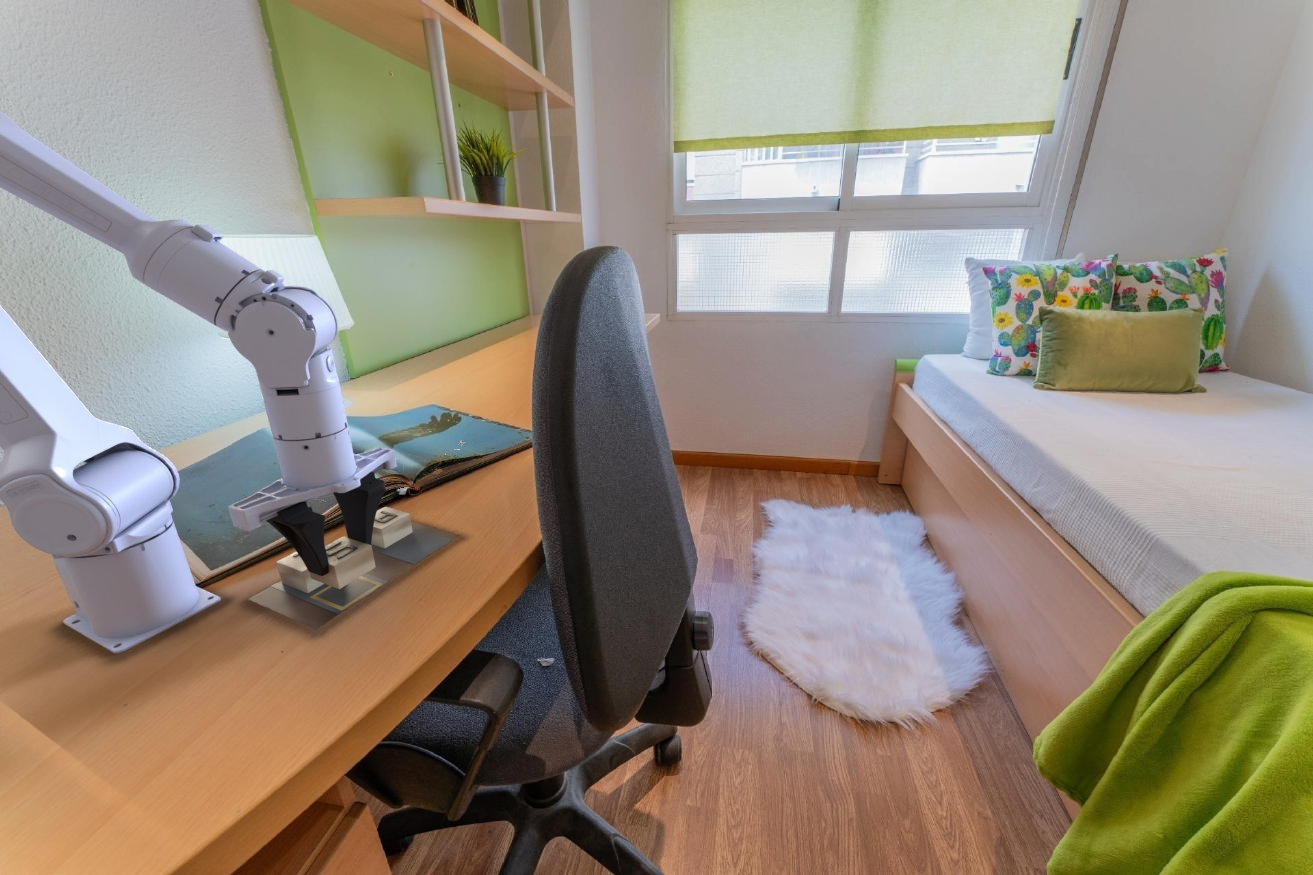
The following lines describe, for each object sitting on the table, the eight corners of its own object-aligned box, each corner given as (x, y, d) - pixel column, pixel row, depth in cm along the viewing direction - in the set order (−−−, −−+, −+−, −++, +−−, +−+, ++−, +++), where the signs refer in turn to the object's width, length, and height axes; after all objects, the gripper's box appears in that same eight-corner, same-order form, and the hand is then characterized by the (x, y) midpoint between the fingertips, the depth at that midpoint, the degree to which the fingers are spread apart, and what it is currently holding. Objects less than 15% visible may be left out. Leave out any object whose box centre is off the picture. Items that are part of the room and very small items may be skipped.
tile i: (281, 583, 53) (275, 560, 52) (319, 562, 57) (313, 541, 56) (307, 593, 52) (301, 570, 51) (344, 572, 55) (339, 550, 54)
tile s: (311, 578, 51) (305, 554, 50) (348, 557, 54) (343, 534, 53) (339, 589, 49) (333, 565, 48) (375, 567, 52) (371, 544, 52)
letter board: (248, 602, 51) (247, 598, 51) (399, 519, 66) (399, 516, 66) (316, 632, 47) (315, 628, 47) (460, 538, 63) (459, 534, 62)
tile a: (360, 540, 61) (355, 520, 60) (388, 525, 64) (385, 505, 63) (384, 548, 59) (380, 528, 58) (412, 532, 63) (409, 512, 62)
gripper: (252, 467, 38) (293, 616, 43) (410, 413, 51) (428, 533, 56) (196, 451, 41) (240, 593, 46) (359, 404, 54) (381, 519, 58)
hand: (340, 559), depth 51 cm, fingers closed on tile s, 4 cm apart
